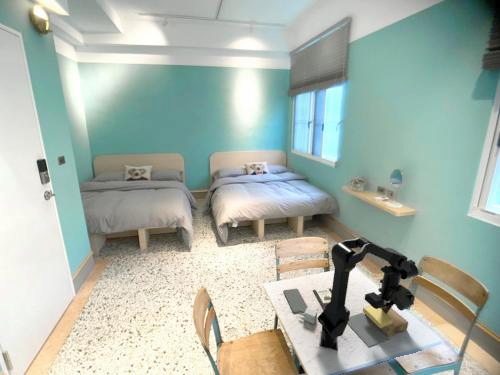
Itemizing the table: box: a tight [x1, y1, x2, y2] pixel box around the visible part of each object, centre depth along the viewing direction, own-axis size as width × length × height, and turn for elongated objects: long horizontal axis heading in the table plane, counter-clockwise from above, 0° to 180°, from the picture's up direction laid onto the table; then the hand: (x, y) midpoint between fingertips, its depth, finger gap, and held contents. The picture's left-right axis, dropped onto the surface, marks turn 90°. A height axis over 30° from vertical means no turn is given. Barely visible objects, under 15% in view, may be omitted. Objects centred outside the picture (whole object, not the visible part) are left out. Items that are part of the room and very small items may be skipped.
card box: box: [362, 304, 393, 328], centre depth 102 cm, size 6×9×2 cm, turn 20°
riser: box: [364, 307, 409, 338], centre depth 104 cm, size 10×12×4 cm
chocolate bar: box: [312, 287, 332, 311], centre depth 115 cm, size 9×1×18 cm
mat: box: [347, 312, 390, 348], centre depth 101 cm, size 10×14×1 cm
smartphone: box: [283, 288, 309, 314], centre depth 117 cm, size 8×1×15 cm
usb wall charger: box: [299, 307, 318, 325], centre depth 106 cm, size 4×7×4 cm, turn 59°
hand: (384, 313), depth 103 cm, fingers closed
